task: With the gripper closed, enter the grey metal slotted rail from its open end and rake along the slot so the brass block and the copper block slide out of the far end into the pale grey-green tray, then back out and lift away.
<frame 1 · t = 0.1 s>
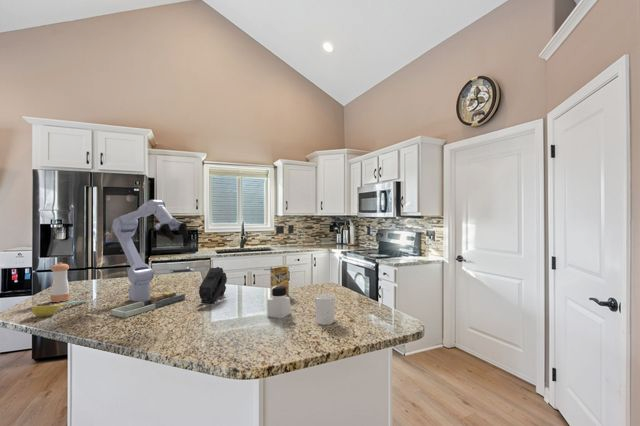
hand: (180, 238, 139), 32 cm above the countertop, fingers open, 7 cm apart
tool: (213, 301, 151), on the countertop
ladle: (63, 310, 137), on the countertop
brass block: (168, 301, 146), point 1 cm above the countertop, touching rail
pepper shaker: (60, 301, 152), on the countertop
rail: (164, 304, 144), on the countertop
white cup: (325, 322, 119), on the countertop
copper block: (157, 304, 141), point 1 cm above the countertop, touching rail
tray: (133, 313, 131), on the countertop
candy box: (279, 296, 158), on the countertop
medicine bottle: (278, 315, 128), on the countertop
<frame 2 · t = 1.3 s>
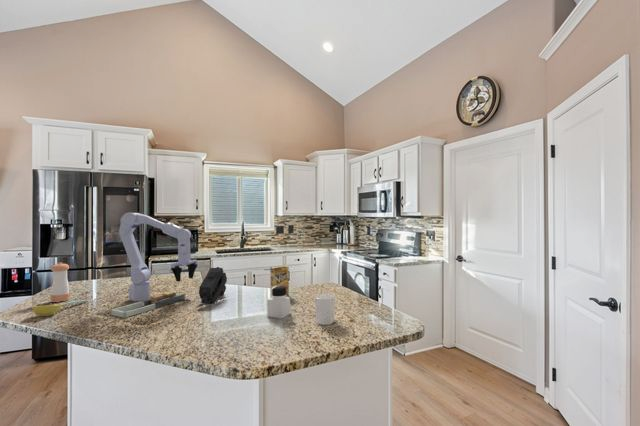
hand: (184, 279, 154), 10 cm above the countertop, fingers open, 7 cm apart
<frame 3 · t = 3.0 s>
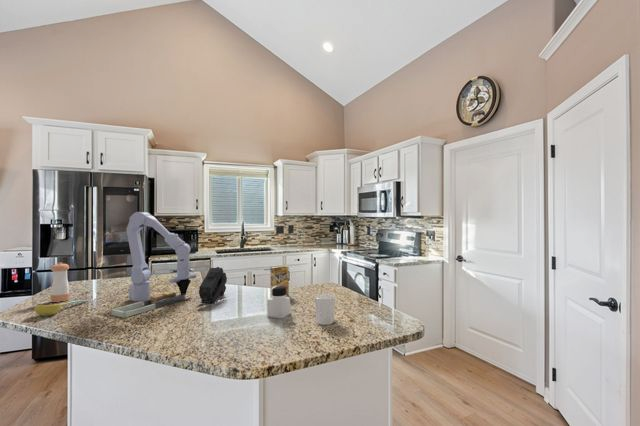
hand: (183, 294, 154), 2 cm above the countertop, fingers closed
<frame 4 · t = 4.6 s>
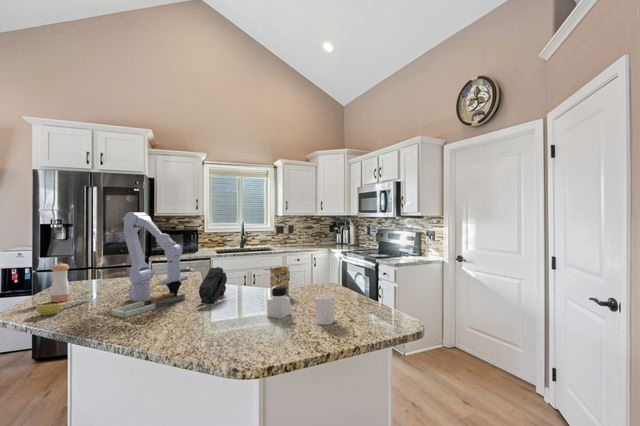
hand: (174, 297, 149), 2 cm above the countertop, fingers closed
brass block: (168, 301, 146), point 1 cm above the countertop, touching gripper, rail
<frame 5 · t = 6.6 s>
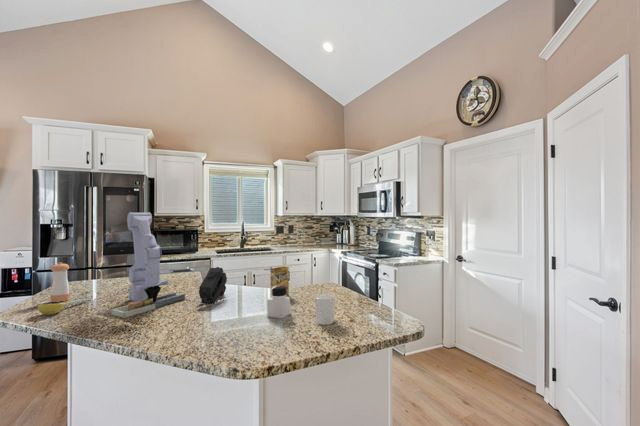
hand: (152, 303, 139), 2 cm above the countertop, fingers closed, pressing on brass block
brass block: (146, 307, 136), point 1 cm above the countertop, tilted 8°, touching gripper, tray
copper block: (135, 311, 132), point 1 cm above the countertop, touching tray
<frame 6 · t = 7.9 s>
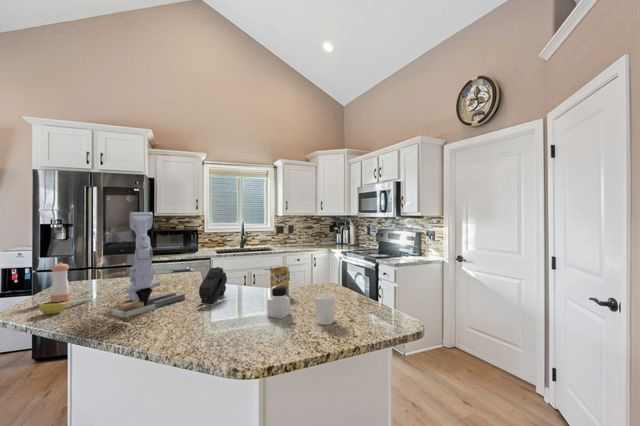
hand: (143, 305, 135), 2 cm above the countertop, fingers closed
brass block: (136, 311, 132), point 1 cm above the countertop, touching copper block, gripper, tray
copper block: (126, 313, 129), point 1 cm above the countertop, touching brass block, tray
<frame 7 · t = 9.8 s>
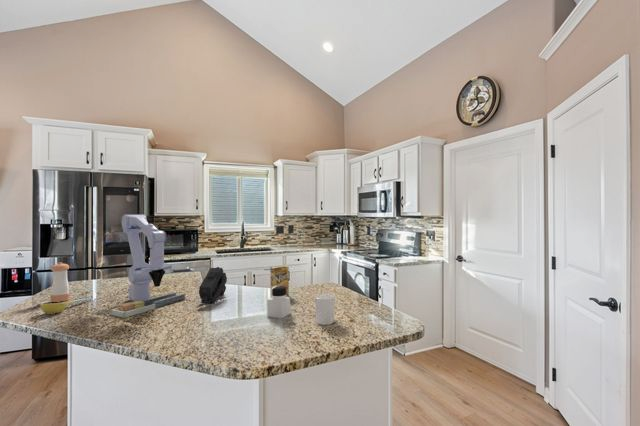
hand: (157, 286, 141), 9 cm above the countertop, fingers closed
brass block: (136, 311, 132), point 1 cm above the countertop, touching copper block, tray
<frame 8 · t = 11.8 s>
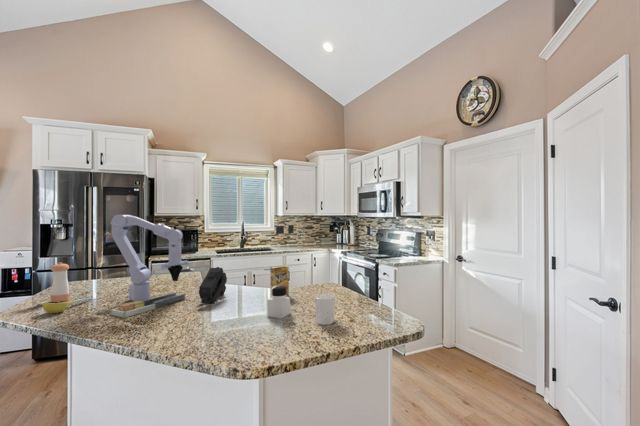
hand: (175, 280, 153), 9 cm above the countertop, fingers closed
at the end: brass block inside the target area on the tray (1.2 cm from its centre), point 0.6 cm above the tray's base; copper block inside the target area on the tray (2.9 cm from its centre), point 0.6 cm above the tray's base; brass block touching copper block, tray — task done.
